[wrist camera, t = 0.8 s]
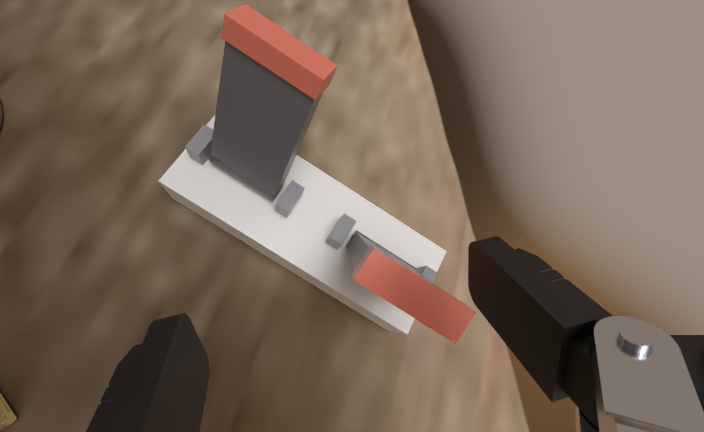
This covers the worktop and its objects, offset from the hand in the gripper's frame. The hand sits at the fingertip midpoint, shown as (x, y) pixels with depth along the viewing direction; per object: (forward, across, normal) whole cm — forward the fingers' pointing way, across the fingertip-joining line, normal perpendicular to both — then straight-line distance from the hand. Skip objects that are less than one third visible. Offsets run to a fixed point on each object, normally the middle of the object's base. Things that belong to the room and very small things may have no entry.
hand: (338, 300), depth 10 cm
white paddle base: (+18, +1, +7) cm, 20 cm away
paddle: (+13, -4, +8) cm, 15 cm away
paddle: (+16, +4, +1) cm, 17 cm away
